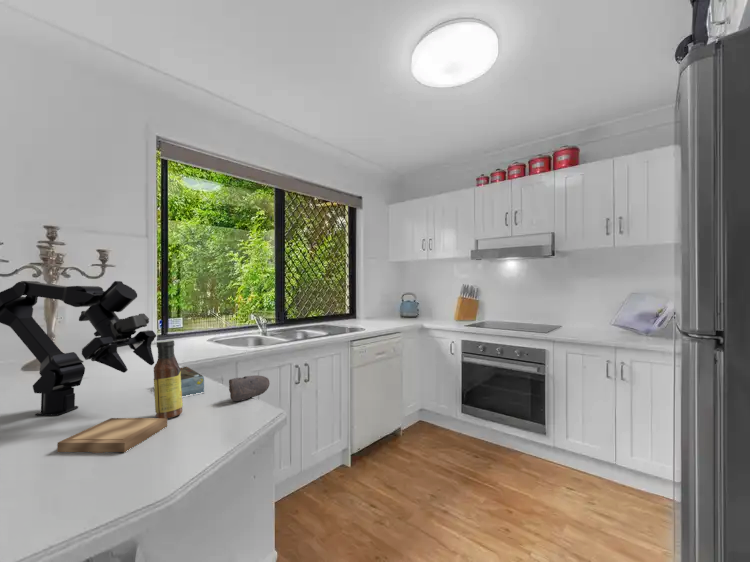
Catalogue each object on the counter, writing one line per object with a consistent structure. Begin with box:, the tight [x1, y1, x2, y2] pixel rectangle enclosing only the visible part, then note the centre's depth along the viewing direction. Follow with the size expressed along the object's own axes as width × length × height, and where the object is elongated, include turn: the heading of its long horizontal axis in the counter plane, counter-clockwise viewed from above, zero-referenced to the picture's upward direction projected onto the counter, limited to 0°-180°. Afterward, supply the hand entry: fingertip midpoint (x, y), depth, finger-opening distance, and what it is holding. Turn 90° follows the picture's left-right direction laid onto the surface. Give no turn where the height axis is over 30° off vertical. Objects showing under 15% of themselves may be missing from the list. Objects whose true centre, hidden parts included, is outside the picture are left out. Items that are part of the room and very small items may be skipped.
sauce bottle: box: [153, 339, 184, 419], centre depth 92 cm, size 6×6×20 cm
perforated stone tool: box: [228, 374, 270, 402], centre depth 108 cm, size 15×5×7 cm, turn 144°
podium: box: [56, 417, 168, 454], centre depth 78 cm, size 14×14×2 cm
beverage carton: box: [180, 366, 205, 396], centre depth 117 cm, size 8×19×7 cm, turn 44°
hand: (140, 367), depth 93 cm, fingers open, 9 cm apart
